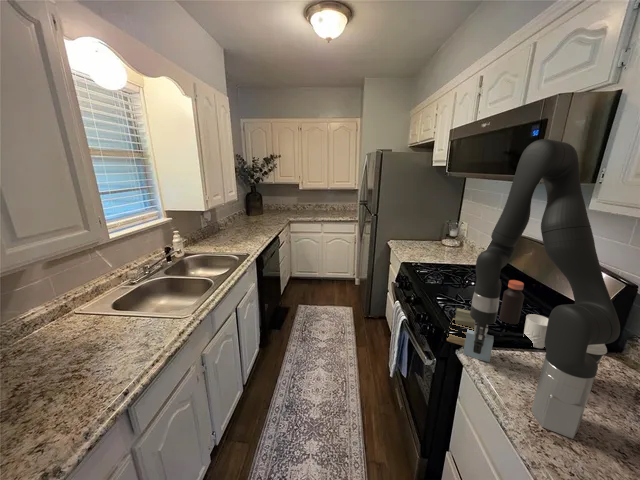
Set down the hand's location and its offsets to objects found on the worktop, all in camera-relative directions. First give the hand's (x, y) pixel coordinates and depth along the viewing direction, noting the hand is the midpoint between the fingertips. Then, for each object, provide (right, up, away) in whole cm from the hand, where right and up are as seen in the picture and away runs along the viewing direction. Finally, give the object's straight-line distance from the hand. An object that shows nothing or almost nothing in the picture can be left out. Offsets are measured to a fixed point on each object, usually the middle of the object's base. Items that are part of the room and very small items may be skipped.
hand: (476, 350), depth 92 cm
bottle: (+24, +2, +18) cm, 30 cm away
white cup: (+26, -1, +8) cm, 27 cm away
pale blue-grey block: (0, -2, +1) cm, 3 cm away
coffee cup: (+25, -5, -10) cm, 27 cm away
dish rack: (+2, +1, +12) cm, 12 cm away
